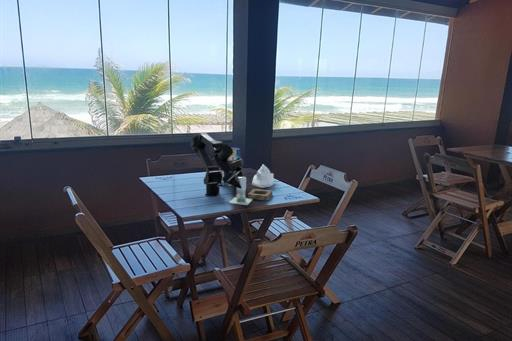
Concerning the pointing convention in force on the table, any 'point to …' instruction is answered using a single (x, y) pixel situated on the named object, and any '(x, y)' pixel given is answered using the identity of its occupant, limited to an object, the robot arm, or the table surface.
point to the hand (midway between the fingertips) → (243, 185)
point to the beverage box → (232, 158)
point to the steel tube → (241, 192)
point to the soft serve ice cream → (263, 177)
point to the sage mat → (240, 202)
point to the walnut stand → (260, 194)
